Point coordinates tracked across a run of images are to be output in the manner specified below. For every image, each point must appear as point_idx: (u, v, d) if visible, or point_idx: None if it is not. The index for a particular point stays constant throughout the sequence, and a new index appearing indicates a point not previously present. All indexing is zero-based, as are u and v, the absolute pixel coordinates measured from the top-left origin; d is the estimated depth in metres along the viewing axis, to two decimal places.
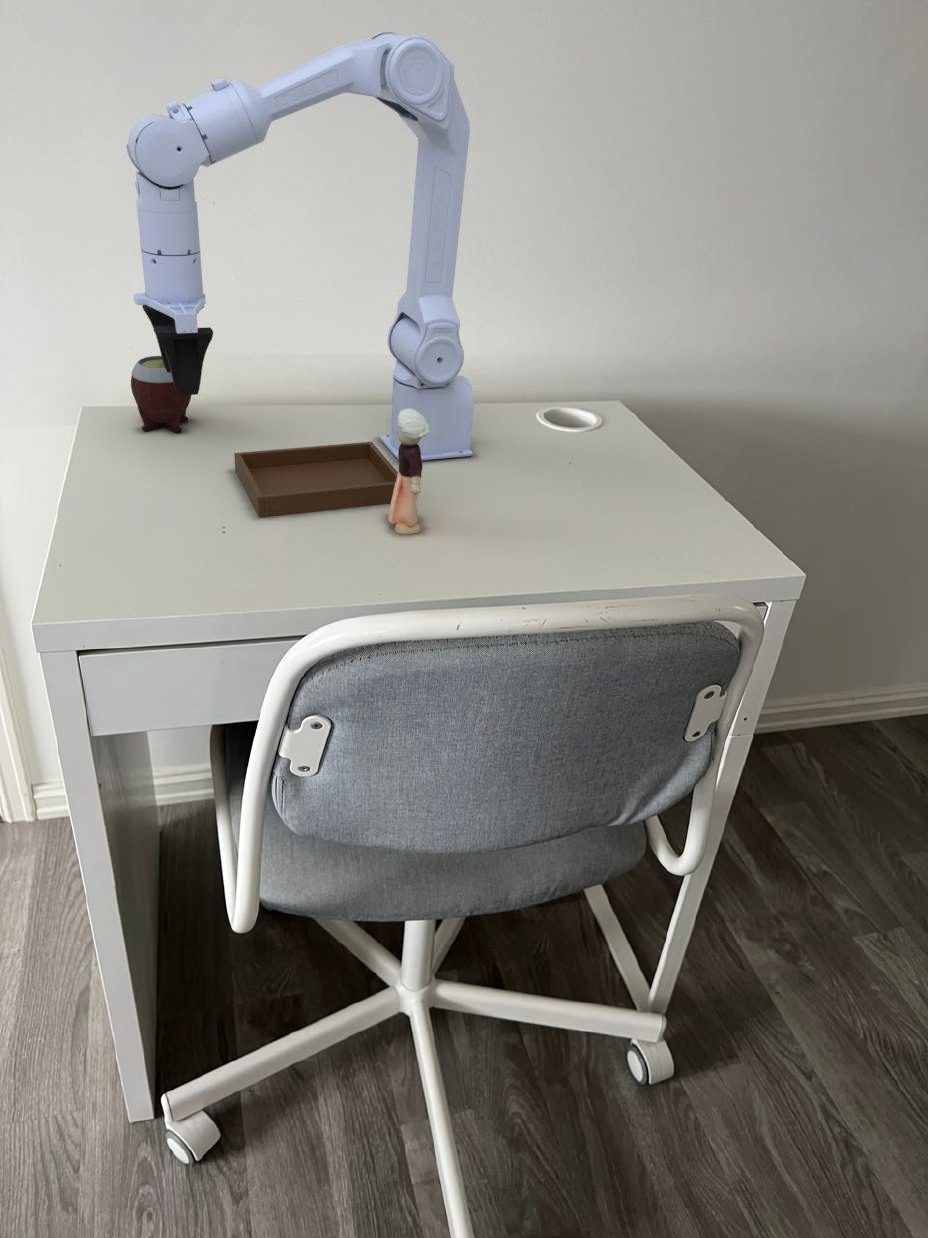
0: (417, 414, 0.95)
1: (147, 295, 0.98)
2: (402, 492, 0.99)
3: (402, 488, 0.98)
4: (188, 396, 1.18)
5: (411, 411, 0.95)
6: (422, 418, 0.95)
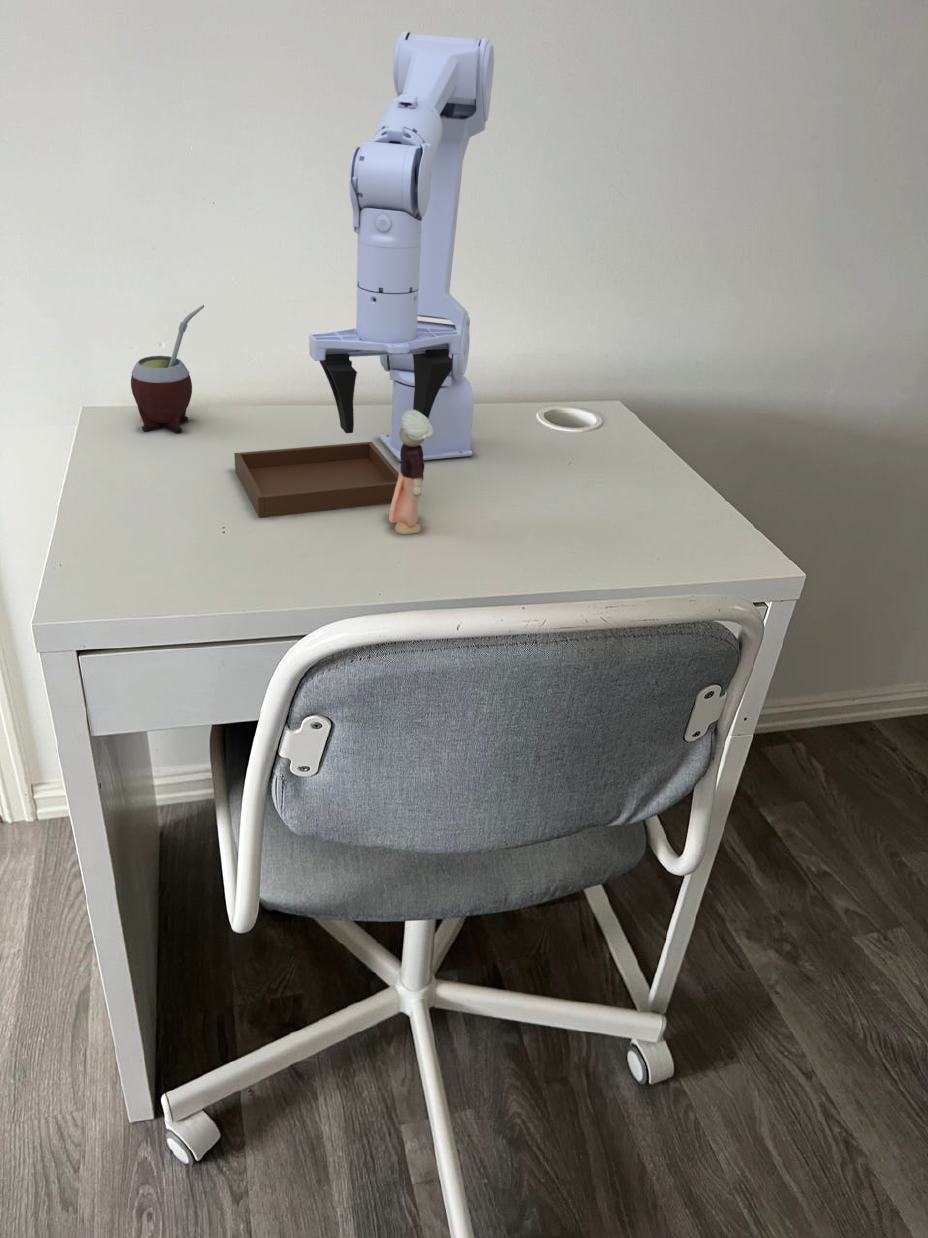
0: (421, 416, 0.94)
1: (402, 340, 0.90)
2: (403, 492, 0.98)
3: (403, 488, 0.98)
4: (188, 396, 1.18)
5: (415, 412, 0.94)
6: (425, 420, 0.95)
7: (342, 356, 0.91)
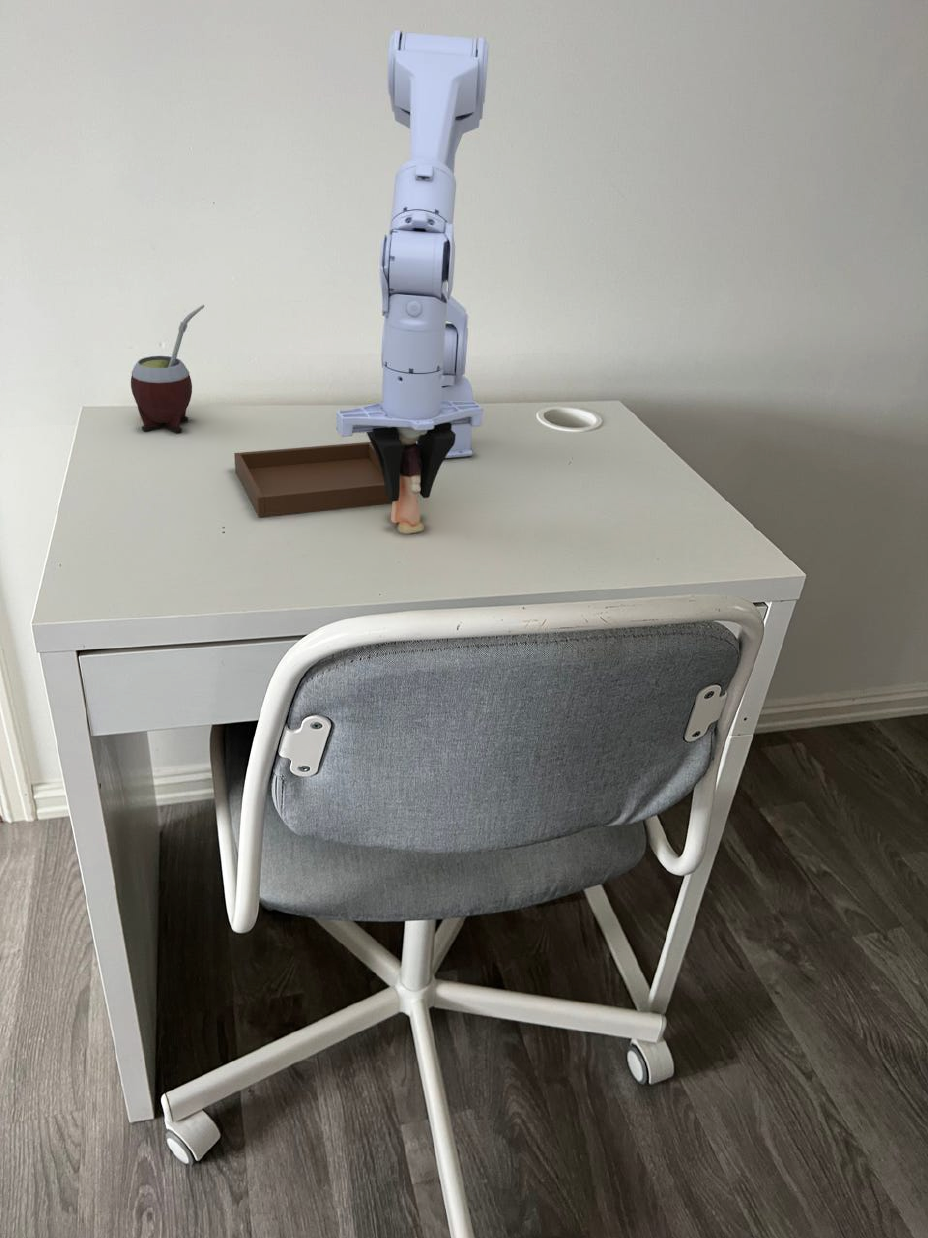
0: None
1: (427, 416, 0.93)
2: (403, 492, 0.99)
3: (403, 488, 0.98)
4: (188, 396, 1.18)
5: None
6: None
7: (390, 430, 0.94)
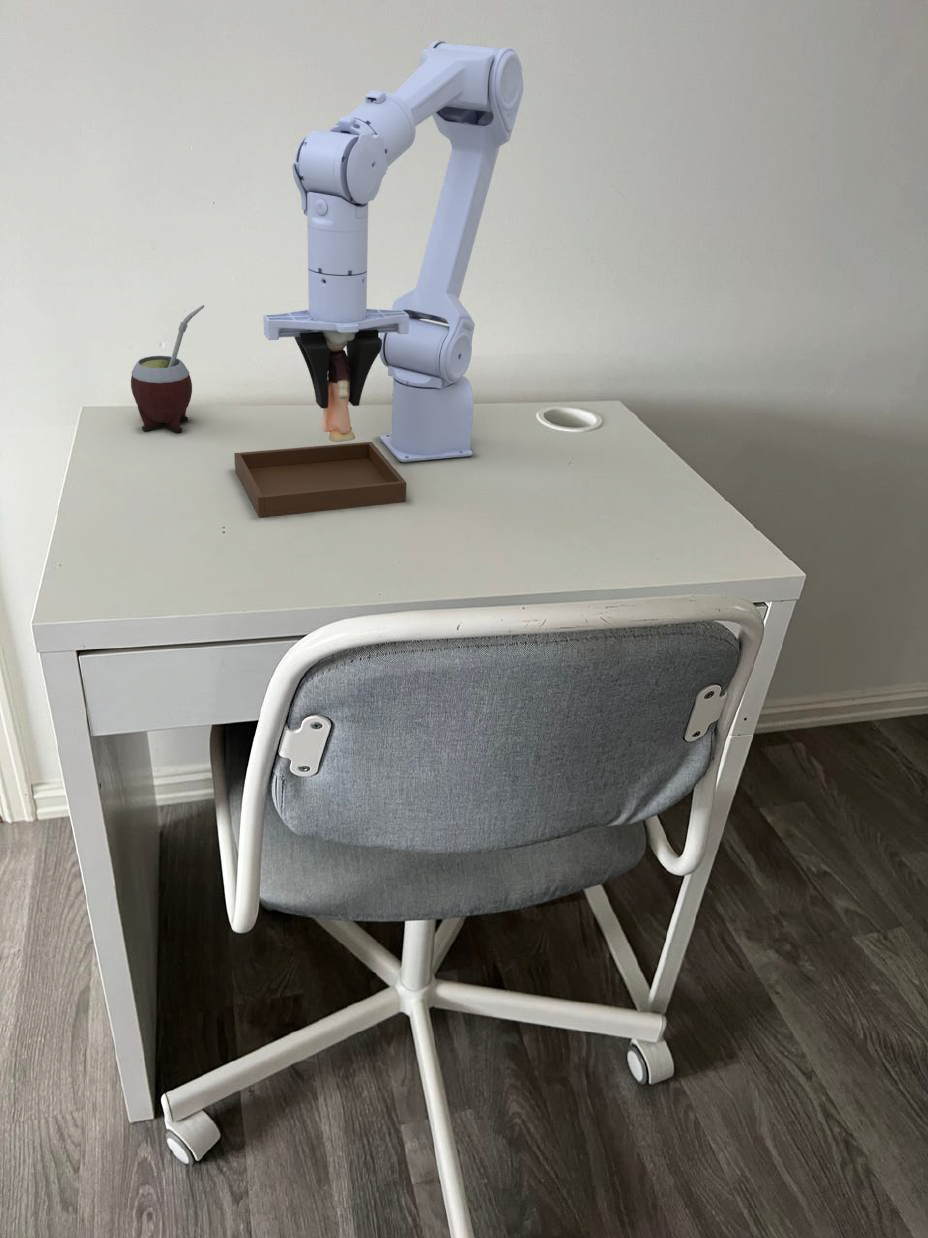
0: None
1: (352, 320, 0.95)
2: (333, 399, 1.01)
3: (332, 395, 1.00)
4: (188, 396, 1.18)
5: None
6: None
7: (316, 335, 0.96)
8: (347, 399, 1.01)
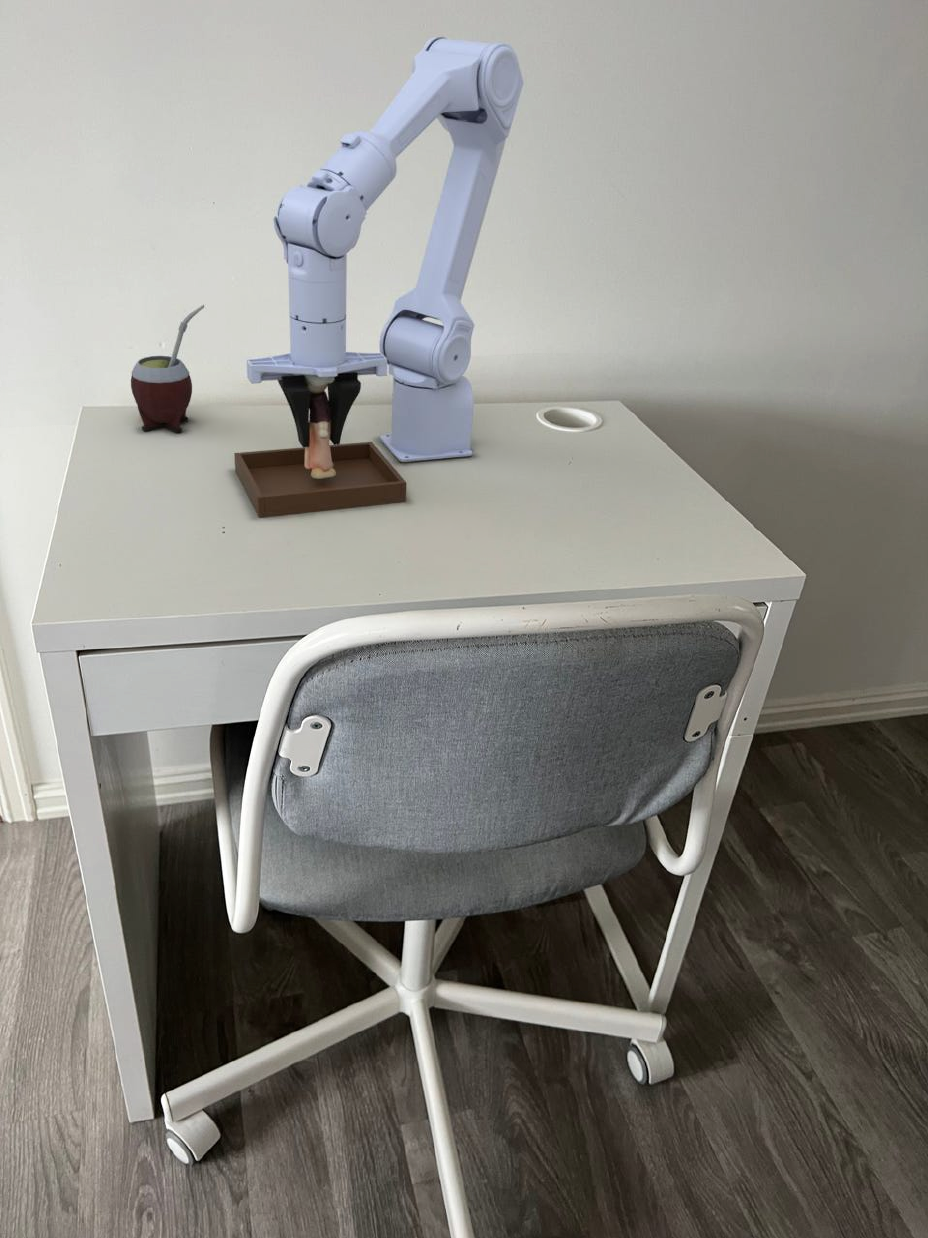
0: None
1: (331, 365, 0.99)
2: (314, 438, 1.05)
3: (314, 434, 1.05)
4: (188, 396, 1.18)
5: None
6: None
7: (298, 378, 1.00)
8: (328, 438, 1.05)
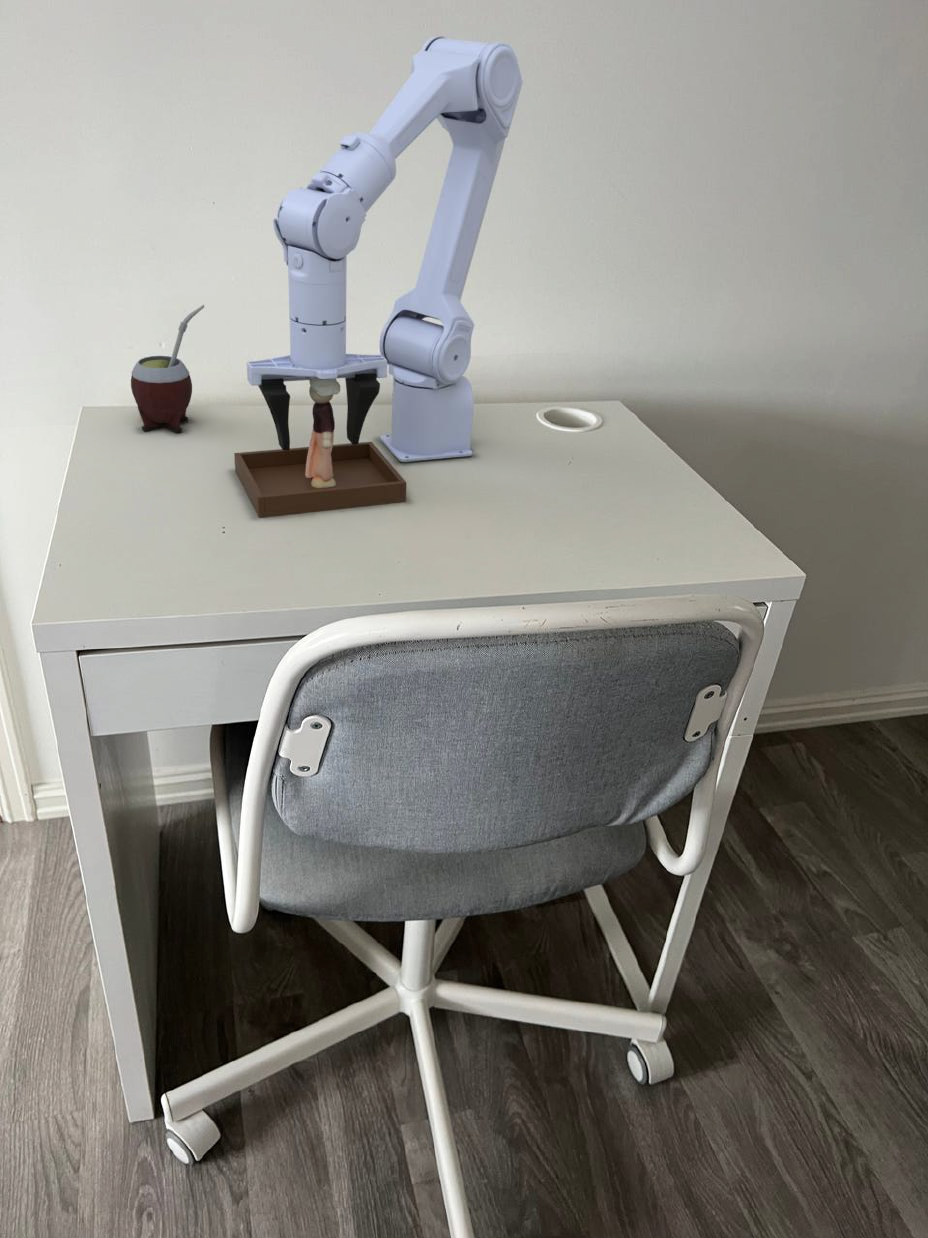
0: None
1: (331, 366, 0.99)
2: (317, 448, 1.05)
3: (316, 444, 1.05)
4: (188, 396, 1.18)
5: None
6: None
7: (277, 381, 1.00)
8: (330, 448, 1.06)
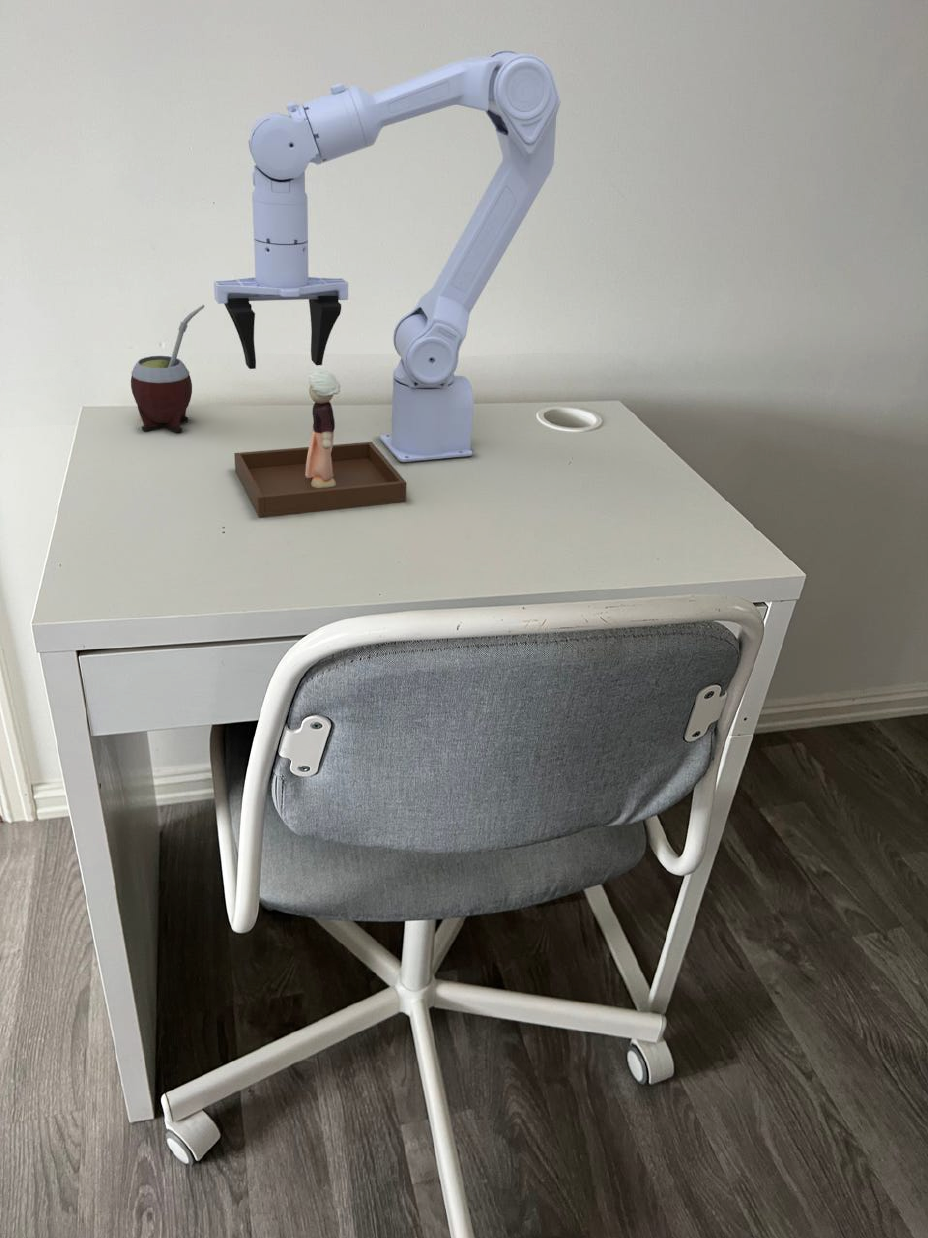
0: (327, 374, 1.02)
1: (294, 286, 1.04)
2: (317, 448, 1.05)
3: (316, 444, 1.05)
4: (188, 396, 1.18)
5: (322, 371, 1.02)
6: (332, 377, 1.02)
7: (242, 300, 1.05)
8: (330, 448, 1.06)
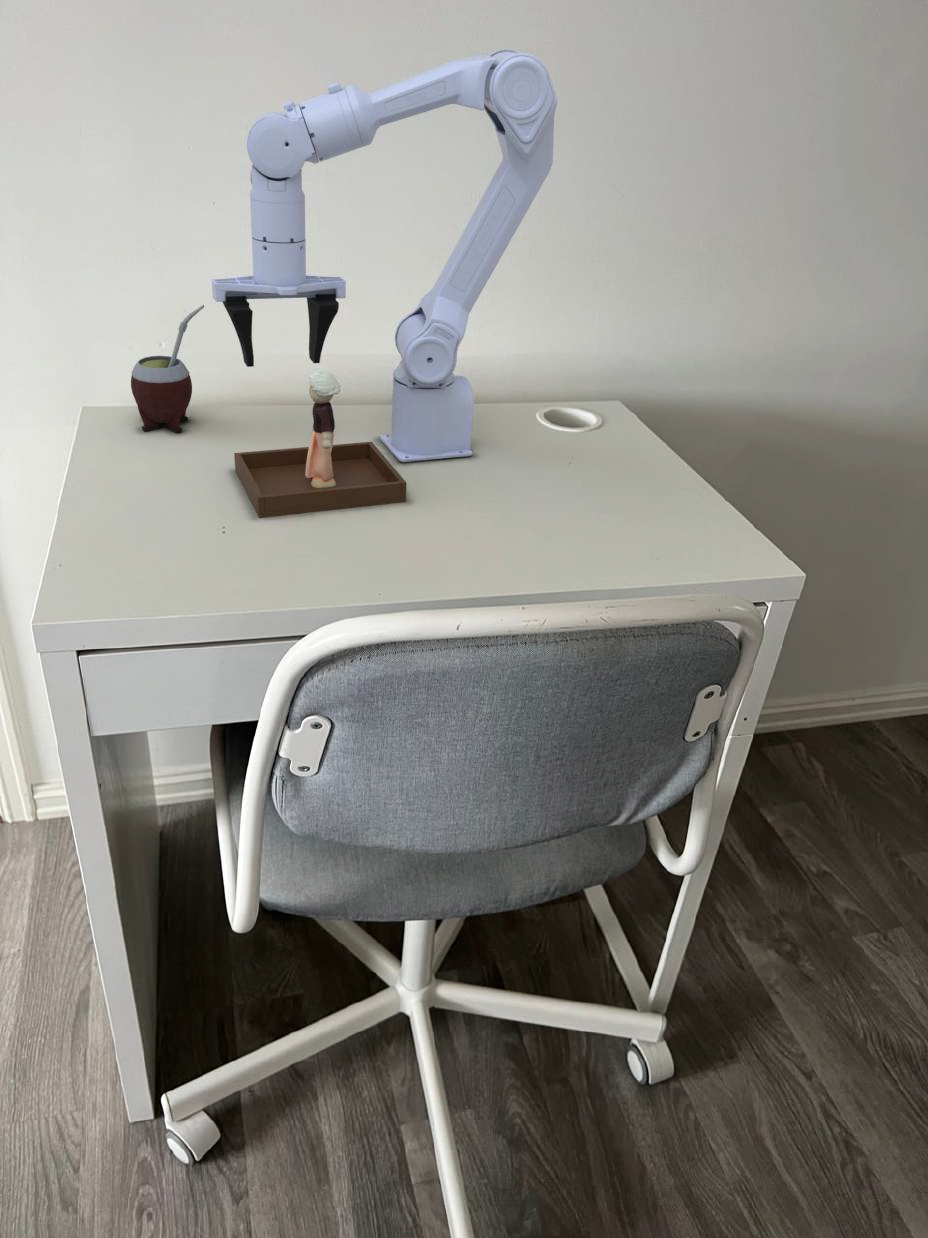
0: (327, 374, 1.02)
1: (291, 284, 1.05)
2: (316, 448, 1.05)
3: (316, 444, 1.05)
4: (188, 396, 1.18)
5: (322, 371, 1.02)
6: (332, 377, 1.02)
7: (240, 298, 1.06)
8: (330, 448, 1.06)
